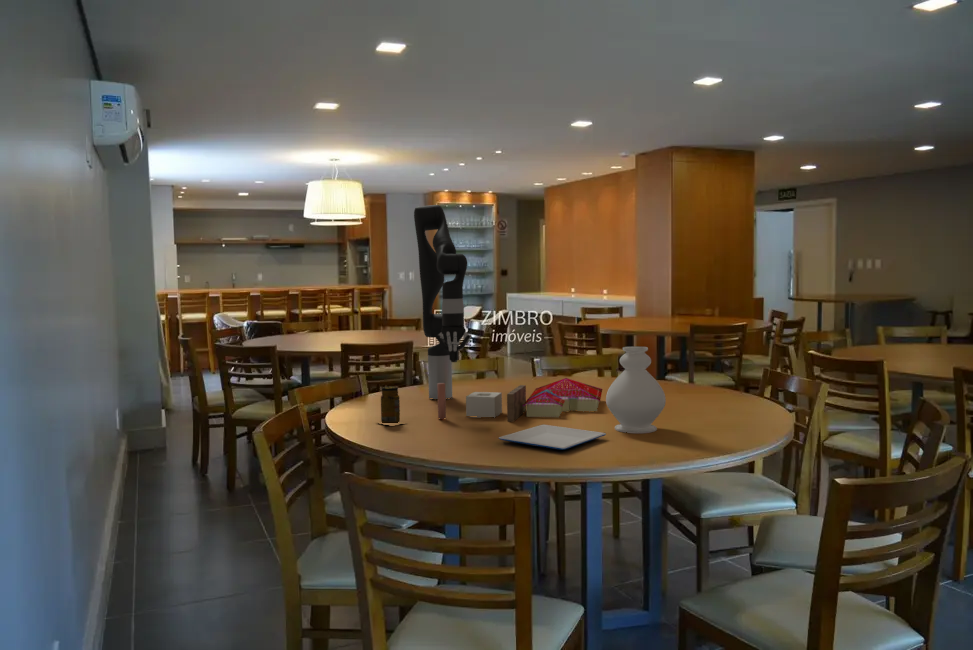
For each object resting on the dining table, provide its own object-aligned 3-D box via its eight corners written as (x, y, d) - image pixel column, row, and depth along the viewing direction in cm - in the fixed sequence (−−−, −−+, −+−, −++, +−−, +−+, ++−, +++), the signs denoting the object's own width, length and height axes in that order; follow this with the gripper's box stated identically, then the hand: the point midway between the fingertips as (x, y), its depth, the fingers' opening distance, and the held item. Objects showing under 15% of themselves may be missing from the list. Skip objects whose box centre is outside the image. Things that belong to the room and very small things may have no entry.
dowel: (439, 418, 247) (438, 383, 246) (447, 418, 246) (446, 383, 245) (437, 419, 244) (436, 384, 243) (444, 420, 243) (443, 384, 243)
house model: (599, 419, 241) (598, 388, 240) (522, 418, 246) (522, 388, 245) (602, 400, 278) (602, 373, 277) (536, 399, 283) (535, 373, 282)
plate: (542, 430, 225) (542, 424, 225) (606, 439, 211) (606, 432, 210) (497, 444, 207) (497, 437, 207) (563, 455, 193) (563, 447, 193)
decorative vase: (594, 429, 225) (593, 348, 223) (631, 421, 236) (630, 343, 234) (640, 438, 211) (640, 351, 209) (677, 429, 222) (677, 347, 221)
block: (474, 411, 258) (474, 391, 257) (502, 412, 255) (501, 392, 254) (466, 417, 248) (465, 396, 247) (494, 417, 245) (494, 397, 245)
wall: (520, 410, 258) (520, 385, 258) (526, 410, 258) (525, 385, 257) (507, 421, 239) (506, 394, 238) (513, 421, 239) (512, 394, 238)
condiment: (394, 420, 245) (393, 385, 244) (408, 424, 238) (407, 387, 237) (375, 423, 240) (374, 387, 239) (389, 427, 233) (387, 390, 233)
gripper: (474, 311, 254) (475, 361, 255) (438, 311, 257) (439, 360, 258) (468, 312, 247) (469, 363, 248) (431, 312, 250) (432, 363, 251)
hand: (454, 361), depth 253 cm, fingers closed
